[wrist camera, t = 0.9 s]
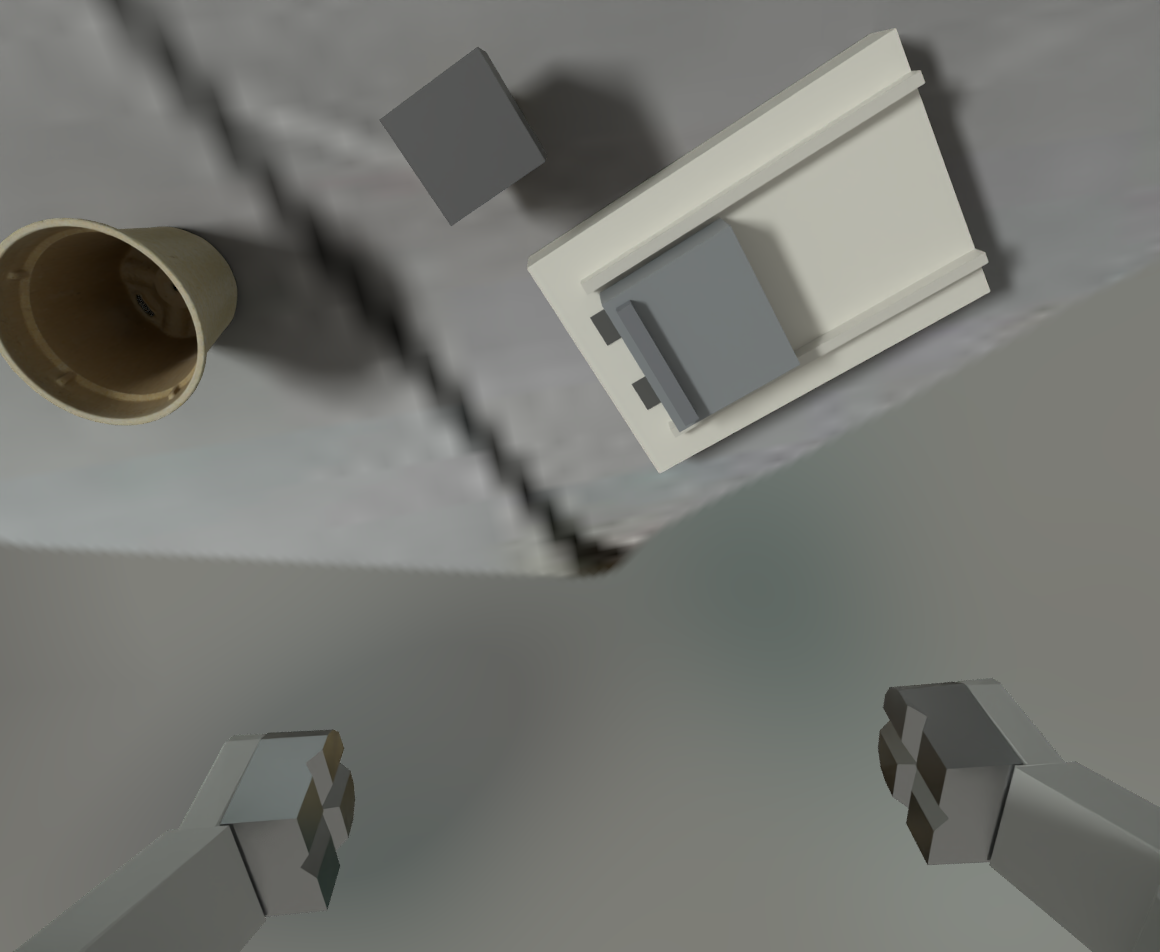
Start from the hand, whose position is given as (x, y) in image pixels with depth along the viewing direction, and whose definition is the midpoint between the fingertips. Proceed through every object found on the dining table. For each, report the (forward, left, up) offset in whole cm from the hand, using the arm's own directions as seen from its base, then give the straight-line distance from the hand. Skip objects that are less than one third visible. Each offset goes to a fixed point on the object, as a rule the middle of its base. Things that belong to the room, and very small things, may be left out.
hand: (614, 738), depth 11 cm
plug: (-4, -7, -33) cm, 35 cm away
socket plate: (-4, +9, -33) cm, 35 cm away
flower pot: (+10, -19, -34) cm, 40 cm away
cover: (-1, +6, -30) cm, 31 cm away
